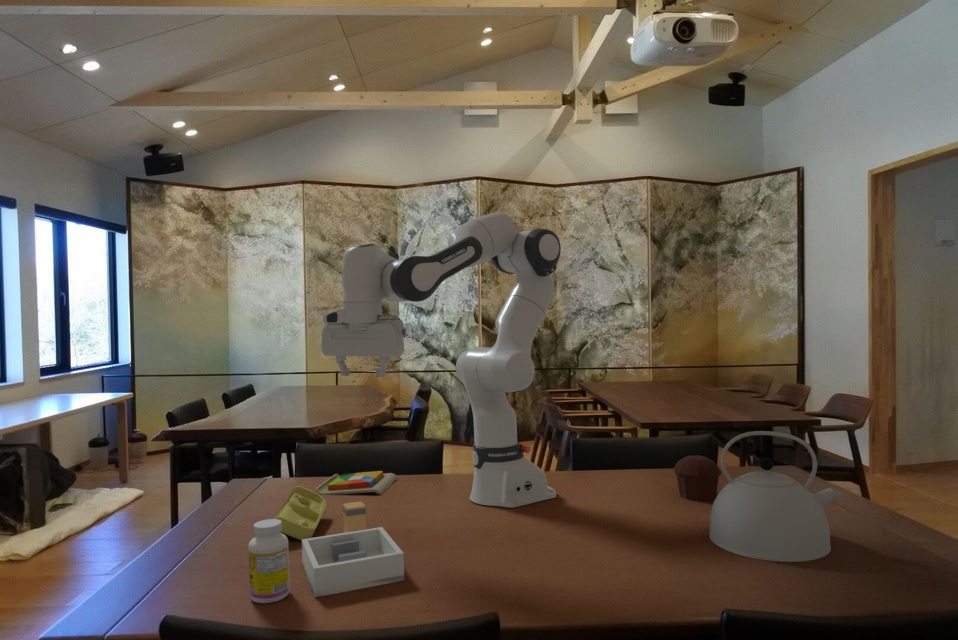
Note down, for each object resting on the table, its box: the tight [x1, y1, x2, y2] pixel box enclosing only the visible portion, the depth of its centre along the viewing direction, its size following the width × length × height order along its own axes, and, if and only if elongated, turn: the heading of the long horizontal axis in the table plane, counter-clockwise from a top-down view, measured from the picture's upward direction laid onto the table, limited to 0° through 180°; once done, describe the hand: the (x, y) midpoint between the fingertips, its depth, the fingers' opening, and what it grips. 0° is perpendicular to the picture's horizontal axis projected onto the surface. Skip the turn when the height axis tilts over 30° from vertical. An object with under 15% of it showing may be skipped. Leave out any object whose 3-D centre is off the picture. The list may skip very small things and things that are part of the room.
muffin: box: [673, 454, 722, 502], centre depth 165 cm, size 12×11×10 cm
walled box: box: [301, 526, 405, 598], centre depth 123 cm, size 16×16×5 cm
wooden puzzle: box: [315, 470, 398, 496], centre depth 184 cm, size 18×19×4 cm
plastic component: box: [273, 485, 327, 541], centre depth 149 cm, size 20×7×10 cm
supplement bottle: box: [248, 518, 291, 604], centre depth 113 cm, size 7×7×13 cm
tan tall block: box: [342, 500, 367, 533], centre depth 139 cm, size 4×4×8 cm
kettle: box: [708, 430, 843, 563], centre depth 133 cm, size 25×23×22 cm
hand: (362, 376), depth 148 cm, fingers open, 8 cm apart
